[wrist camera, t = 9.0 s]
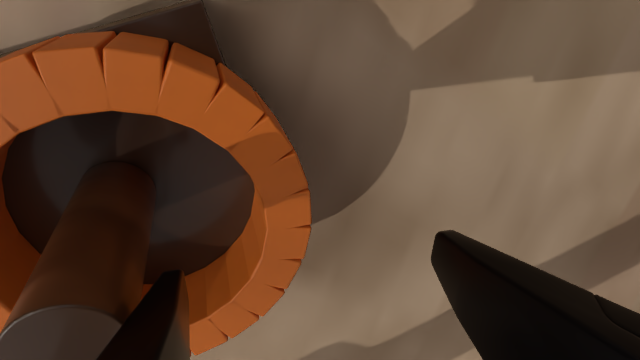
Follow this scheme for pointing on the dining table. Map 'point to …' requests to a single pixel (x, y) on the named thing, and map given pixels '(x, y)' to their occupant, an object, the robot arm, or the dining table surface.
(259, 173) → the toy tire
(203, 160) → the peg stand
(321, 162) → the dining table surface
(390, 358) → the dining table surface
